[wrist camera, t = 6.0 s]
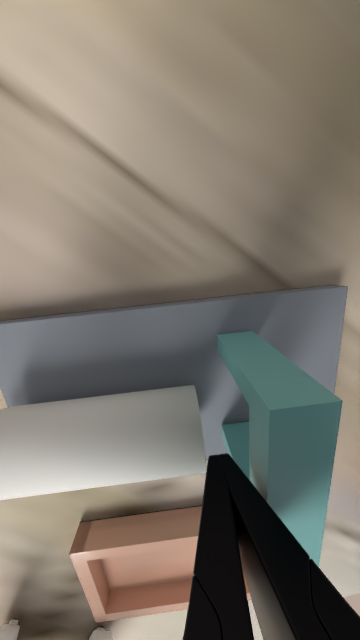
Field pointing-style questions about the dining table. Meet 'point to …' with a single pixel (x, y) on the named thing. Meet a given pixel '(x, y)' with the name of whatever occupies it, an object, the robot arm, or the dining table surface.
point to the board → (169, 350)
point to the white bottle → (100, 441)
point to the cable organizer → (9, 632)
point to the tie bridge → (283, 434)
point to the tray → (137, 563)
